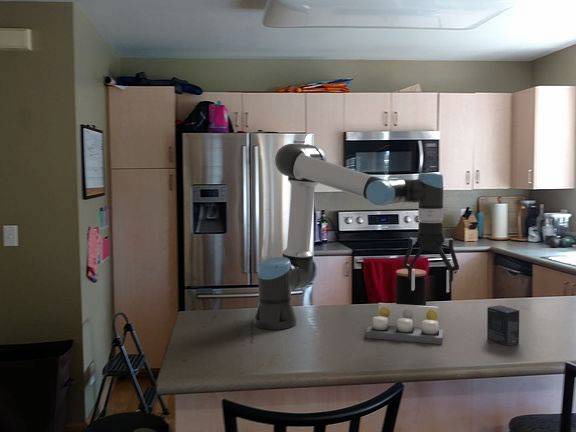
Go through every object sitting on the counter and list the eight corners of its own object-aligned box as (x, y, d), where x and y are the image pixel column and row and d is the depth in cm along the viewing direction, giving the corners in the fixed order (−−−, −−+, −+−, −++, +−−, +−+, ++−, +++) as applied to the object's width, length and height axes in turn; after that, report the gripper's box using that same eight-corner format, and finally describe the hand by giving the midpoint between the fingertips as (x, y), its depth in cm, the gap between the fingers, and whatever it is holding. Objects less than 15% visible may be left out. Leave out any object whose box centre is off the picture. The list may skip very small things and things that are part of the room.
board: (365, 337, 169) (365, 331, 169) (370, 329, 178) (370, 323, 178) (442, 344, 162) (442, 337, 162) (443, 335, 170) (443, 329, 170)
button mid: (396, 331, 168) (396, 321, 168) (398, 327, 173) (398, 317, 172) (411, 332, 167) (411, 322, 166) (412, 328, 171) (413, 318, 171)
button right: (421, 333, 166) (421, 323, 165) (422, 328, 170) (422, 319, 170) (437, 334, 164) (437, 324, 164) (438, 330, 169) (438, 320, 168)
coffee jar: (423, 316, 193) (423, 268, 192) (428, 324, 183) (428, 274, 181) (394, 315, 194) (394, 268, 193) (397, 324, 184) (397, 274, 182)
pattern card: (378, 326, 182) (378, 303, 181) (379, 325, 183) (379, 302, 182) (437, 330, 175) (438, 307, 174) (438, 329, 176) (438, 306, 176)
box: (519, 343, 162) (520, 310, 161) (506, 346, 159) (506, 312, 158) (499, 336, 169) (499, 304, 168) (486, 339, 166) (486, 306, 165)
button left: (371, 329, 171) (371, 319, 170) (374, 325, 175) (374, 315, 175) (386, 330, 169) (386, 320, 169) (388, 326, 174) (388, 316, 173)
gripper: (392, 222, 164) (393, 291, 166) (468, 223, 157) (467, 295, 159) (395, 220, 171) (395, 286, 173) (468, 220, 164) (467, 290, 166)
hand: (430, 290), depth 166 cm, fingers open, 10 cm apart
